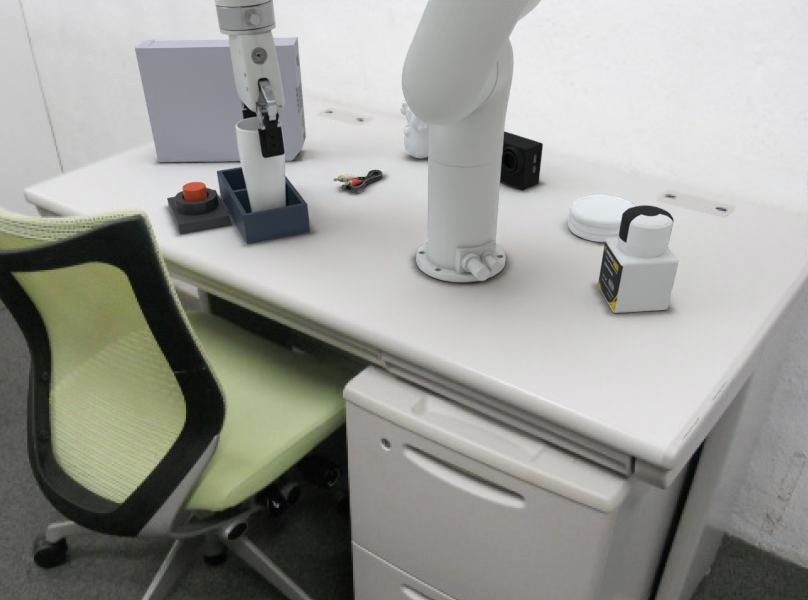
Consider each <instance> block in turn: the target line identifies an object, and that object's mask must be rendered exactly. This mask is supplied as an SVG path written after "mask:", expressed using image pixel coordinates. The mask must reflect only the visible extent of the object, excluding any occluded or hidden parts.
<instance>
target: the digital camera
mask: <svg viewBox="0 0 808 600" xmlns="http://www.w3.org/2000/svg"><path fill="white" fill-rule="evenodd" d="M543 147H544V143H543V142H540V141H537V140H534V139H531V138H527V137H524V136H521V135H517V134H515V133H511V132H508V131H505V130H504V139H503V152H502V161H501V175H500V183H501V184H505V185H507V186H511V187H513V188H516V189H519V190H521V191H524V190H527V189H528V188H531V187H533V186H536V185H538V184H540V176H541V166H542V157H543V149H544V148H543Z"/></svg>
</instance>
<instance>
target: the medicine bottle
mask: <svg viewBox="0 0 808 600" xmlns="http://www.w3.org/2000/svg"><path fill="white" fill-rule="evenodd" d="M674 220H675V219H674V217H673V215H672V214H671V213H670V212H669V211H668V210H665V209H663V208H661V207H658V206H654V205H646V204H645V205H644V204H643V205H635V207H631V208H629V209H627V210H626V211H625V212H624V213H623V214H622V219H621V224H620V230H619V235H618V238H607V239H606V240H605V242H604V246H603V252H602V258H601V262H600V263H601V264H600V269H599V275H598V282H597V287H598V289H599V290H600V292H601V294H602V296H603V297H604V299H605V301H606V303H607V304H608V306H609V307H610V310H611V311H612V312H613V313H614V314H620V313H623V314H624V313H639V312H655V311H667V310H668V308H669V305H670V300H671V297H672V292H673V288H674V283H675V281H676V275H677V271H678V268H679V259H678V258H677V257H676V256H675V254H674V253H673V252H672V250H671V249H670V248H669V244H670V239H671V234H672V229H673V226H674V223H675V222H674Z"/></svg>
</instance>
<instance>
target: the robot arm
mask: <svg viewBox="0 0 808 600" xmlns="http://www.w3.org/2000/svg"><path fill="white" fill-rule="evenodd" d="M541 1H542V0H428V1H427V3H426V5H425V8H424V11H423V12H422V15H421V17H420V20H419V23H418V24H417V28H416V29H415V32H414V35H413V38H412V40H411V43H410V45H409V47H408V50H407V53H406V55H405V58H404V62H403V66H402V71H401V89H402V94H403V98H404V100H406V103H407V105H408V107H409V108H410V110H411V111H412V112H413V113H414V115H415V116H417V117H418V118H419V119H420V120H422V121H424V122H426V123H429V124H430V131H429V153H428V157H427V160H428V161H427V162H428V163H427V237H426V238H427V239H426V240H427V241H425V242H424V243H423V244H421V246H420V247H419V248H418V249H417V251H416V254H415V258H416V259H415V262H416V265H417V267H418V268H419V270H420V271H421V272H422V273H424V274H425V275H427V276H429V277H431V278H434V279H436V280H441V281H445V282H450V283H473V282H484V281H486V280H488V279H491V278H493V277H495V276H496V275H498V274H499V273H501V272H502V271H503V269H504V268H505V266H506V260H507V256H506V255H507V254H506V252H505V250H504V248H502V246H501V245H499V244H497V243H496V242H497V230H498V216H499V215H498V214H499V204H500V203H499V201H500V188H501V182H500V175H501V161H502V152H503V139H504V131H505V127H506V119H507V113H508V112H507V111H508V104H509V100H510V94H511V87H512V81H513V76H514V66H515V65H514V63H515V60H514V59H515V57H514V51H513V45H512V42H511V40H510V37H511V34H512V32H513V31H514V29H515V27H516V25H517V24H518V23H519V21H521V20H522V19H523V18H525V17H526V16H527V15H528V14H529V13H531V12H532V11H533V10H535V8H537V7H538V6H539V4H540V3H541ZM214 4H215V10H216V15H217V16H216V17H217V22H218V29H219V33H220V34H222V35H227V37H228V40H229V45H230V53H231V60H232V66H233V73H234V78H235V84H236V88H237V92H238V95H239V97H240V99H241V104H242V108H243V109H246V110H242V113H243V119H247V118H251V117H257V118H258V122H259V125H260V129H258V133H259V139H260V146H261V153H262V156H263V157H264V158H269V157H274V156H280V155H283V154H284V153H285V151H284V143H283V135H282V128H281V122H280V118H279V113H278V111H277V106H279V107H280V108H283V107H284V105H285V99H284V93H283V87H282V81H281V75H280V69H279V63H278V58H277V53H276V48H275V43H274V39H273V38H274V36H273V32H272V31H273V30H275V29H276V28H277V23H276V22H277V21H276V15H275V14H276V13H275V8H274V7H275V6H274V0H214ZM261 104H265V105H261ZM263 116H264V120H263Z"/></svg>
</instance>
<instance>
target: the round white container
mask: <svg viewBox="0 0 808 600" xmlns="http://www.w3.org/2000/svg"><path fill="white" fill-rule="evenodd" d="M635 206H636V204H635V203H633V202H632V201H630V200H628V199H625V198H623V197H619V196H615V195H610V194H589V195H584V196H581V197H579V198H577V199H575V200H574V201H573V202H572V203H571V204H570V206H569V214H568V221H567V226H568V229H569V231H570V232H572V233H573V234H574V235H575V236H577V237H579V238H581V239H584V240H587V241H592V242H597V243H605V240H606V239H607V238H618V235H619V230H620V224H621V219H622V214H623V213H624V212H625V211H626V210H627V209H629V208H631V207H635Z"/></svg>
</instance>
